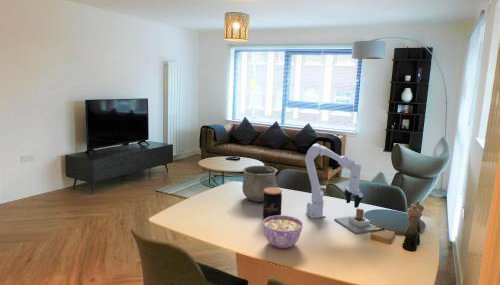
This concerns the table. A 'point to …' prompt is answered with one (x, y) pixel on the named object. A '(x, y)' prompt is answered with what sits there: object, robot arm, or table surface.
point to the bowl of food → (282, 230)
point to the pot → (258, 181)
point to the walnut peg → (359, 214)
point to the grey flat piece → (356, 224)
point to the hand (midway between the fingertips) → (352, 205)
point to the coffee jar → (272, 202)
